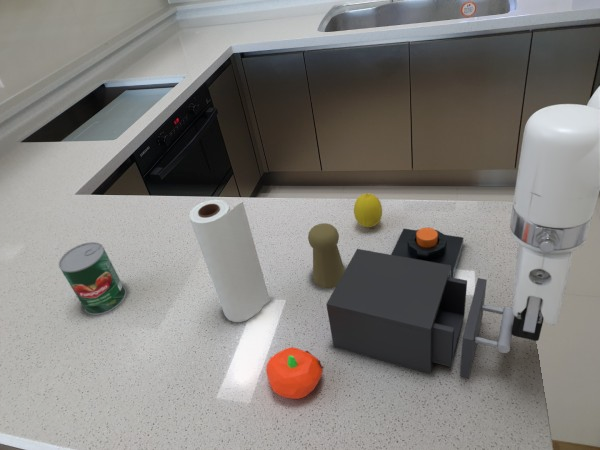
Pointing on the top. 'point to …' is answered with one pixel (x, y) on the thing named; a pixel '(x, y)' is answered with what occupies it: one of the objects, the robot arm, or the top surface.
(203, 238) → the paper towel roll
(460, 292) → the basket drawer
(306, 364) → the pumpkin
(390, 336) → the dark grey drawer cabinet
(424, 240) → the button
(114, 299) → the canned tomato
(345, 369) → the top surface
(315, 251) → the pepper mill
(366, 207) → the lemon
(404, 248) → the control block
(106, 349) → the top surface
